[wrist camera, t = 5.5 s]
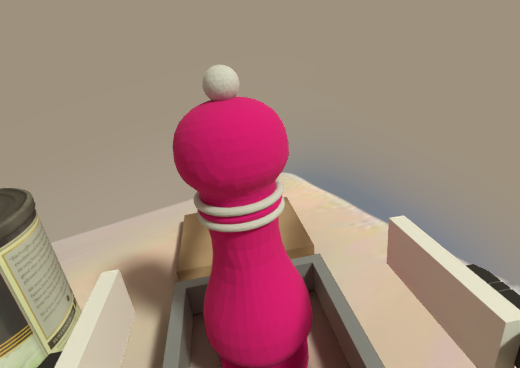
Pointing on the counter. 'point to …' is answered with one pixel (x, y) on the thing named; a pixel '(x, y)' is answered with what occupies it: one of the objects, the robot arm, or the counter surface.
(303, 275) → the holder
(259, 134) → the pepper mill
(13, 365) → the coffee can
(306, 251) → the board
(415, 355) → the counter surface
